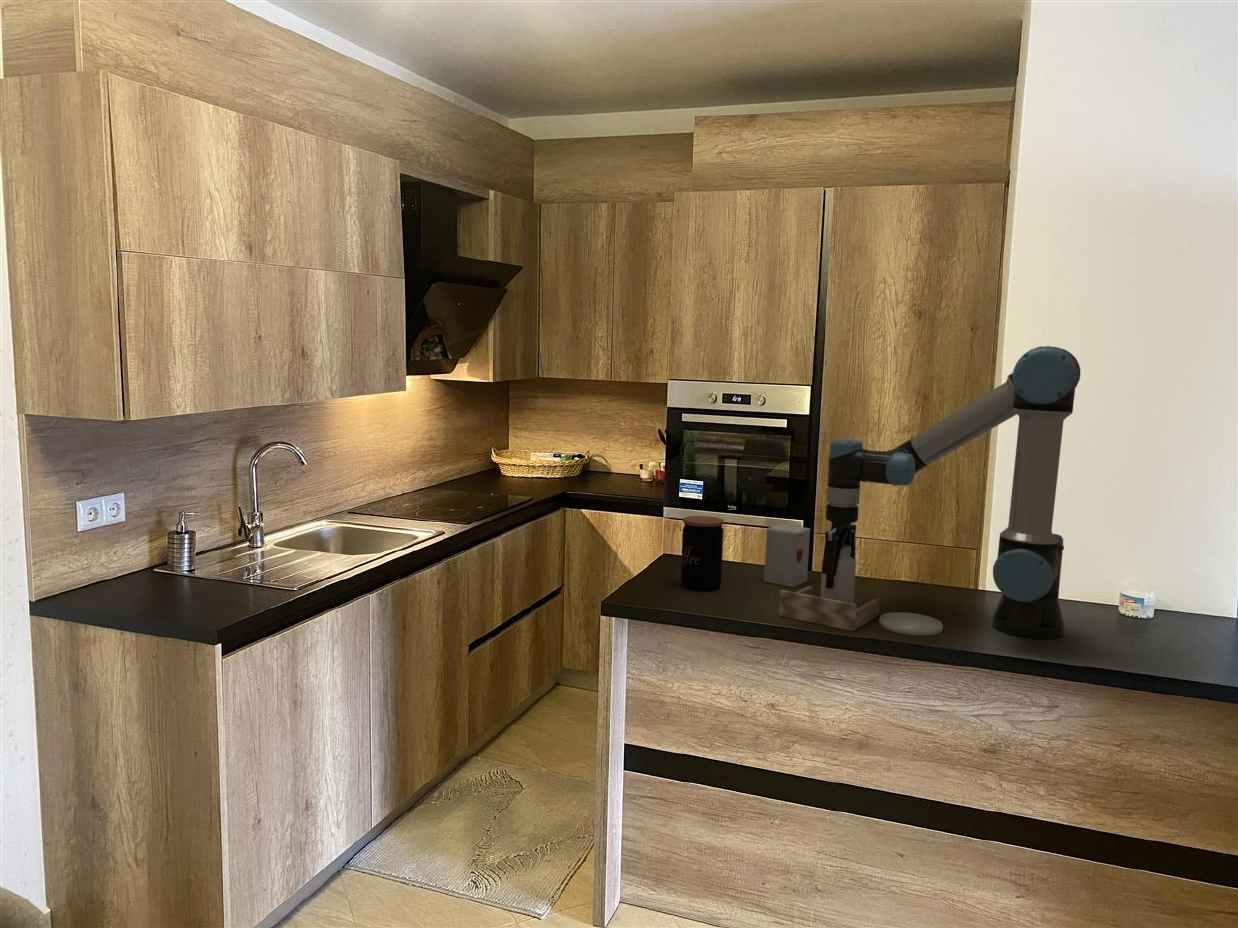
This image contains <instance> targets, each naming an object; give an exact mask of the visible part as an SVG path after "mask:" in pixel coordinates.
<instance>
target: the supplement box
mask: <svg viewBox="0 0 1238 928" xmlns="http://www.w3.org/2000/svg"><path fill="white" fill-rule="evenodd" d="M810 536H811V528H808V527H804V526H795V525H789V524H784V523H783V524H778V525H773V526H771V527H768V528H766V537H765V538H766V539H765V540H766V543H765V557H764V558H765V559H764V570H763V571H764V572H763V573H764V575H763V582H765V583H769V584H774V585H779V586H784V587H789V588H794V587H797V586H800V585H802V584H804V583H807V582H808V568H809V554H810V539H811V538H810Z"/></svg>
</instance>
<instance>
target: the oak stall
mask: <svg viewBox="0 0 1238 928" xmlns="http://www.w3.org/2000/svg"><path fill="white" fill-rule="evenodd" d="M880 602H881V600H880V598H873V599H871V600H870V601H868V602H866V603H865V604H863V605H861V606H859V607H858V604H857V603H854V604H853V603H848V602H843V601H837V600H832V599H827V598H822V597H821V596H816V595H813V586H810V585H808V586H805V587H803V588H801V589H799V590H797V591H790V590H785V589H781V590H779V607H778V612H779V613H778V616H780V617H783V618H784V617H785V618H789V619H794V620H799V621H802V622H803V621H804V622H808V623H812V624H817V625H822V626H827V627H831V628H837V629H840V630H841V629H842V630H846V631H850V632H851V631H852V632H855V631H856V630H858V629H860V628H861V627H862V626H864V625H866V624H868V623H869V622H870V621H872V620H874V619H875V618H877V617H880V616H879V615H880Z"/></svg>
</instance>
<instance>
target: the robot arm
mask: <svg viewBox="0 0 1238 928" xmlns="http://www.w3.org/2000/svg"><path fill="white" fill-rule="evenodd" d="M1080 379H1081V366H1080V363H1079V362H1078V360H1077V357H1075V355H1073V354H1072V352H1070V351H1068V350H1066V349H1064V348H1061V347H1058V346H1050V345H1045V346H1036V347H1033V348H1031V349H1029V350H1028V351H1027V352H1025V353H1024V354H1023V355H1021V357H1020V358H1019V359H1018V360H1017V362H1016V363H1015V365H1014V368H1013V370H1012V372H1011V373H1009V375H1007V379H1006V381H1005V382H1004V383H1002V384H1001V385H999V386H997V387H995V388H994V389H991V390H990V391H989V392H987V393H986V394H984V395H981V396H980V397H979V398H977V399H976V400H974V401H972V402H970V403H968V404H967V405H965V406H964V407H962V408H960V409H959V410H957V411H955V412H953V413H952V414H950V415H948V416H947V417H945V418H943V419H942V420H940V421H939V422H937V423H936V424H934V425H932V426H930V427H928V428H927V429H925V430H924V431H922V432H921V433H918V434H917V435H915V436H914V437H911V439H908V440H906V441H905V442H903V443H901V444H899V445H898V446H897V447H894V448H893V449H890V450H886V451H885V450H883V451H881V450H868V449H864V447H863V442H862V441H860V440H857V439H848V438H847V439H846V438H845V439H834V440H832V441H831V442H830V444H829V446H830V447H829V454H828V458H827V460H828V465H827V467H828V468H827V469H828V470H827V471H828V472H827V488H826V489H825V492H826V502H827V504H826V506H825V519H826V520H827V521H829V522H831V526H830V527H831V528H830V530H829V531H827V530H826V531H825V532H824V536H825V537H824V539H825V540H824V541H825V542H824V548H823V549H824V550H823V558H822V560H823V564H822V563H821V575H822V574H826V577H825V594H824V598H827V599H832V600H836V596H837V579H838V575H836V571H837V567H838V562H839V557H840V553H841V549H842V548H843V547H844V545H849V546H851V555H849V556H850V557H852V558H853V559H854V560H855V561H856V532H857V525H856V524H854V523H857V522H858V521H859V510H860V509H859V506H858V505H859V504H860V496H861V493H860V492H861V482H863V483H875V484H883V485H884V484H885V485H890V486H891V485H892V486H895V487H897V486H909V485H911V484H912V483H913V480H914V479H915V478H914V477H915V474H916V473H918V472H919V471H920V470H922V469H924V468H926V467H927V466H929V465H931V464H932V463H934V462H936V461H938V460H939V459H941V458H944V457H945V456H947V455H949V454H950V453H952V452H954V451H956V450H957V449H959V448H960V447H963V446H964V445H966V444H967V443H970V442H971V441H973V440H974V439H976V438H978V437H980V436H982V435H983V434H985V433H987V432H988V431H991V430H992V429H995V427H998V426H999V425H1001V424H1002V423H1004V422H1007V420H1009V419H1012V418H1013V417H1015V416H1018V419H1019V420H1018V430H1017V439H1016V448H1015V457H1014V466H1013V477H1012V486H1011V496H1010V506H1009V516H1008V526H1007V528H1005V529H1004V530H1003V531H1001V532H1000V533H999V540H998V546H997V547H998V549H997V558H996V560H995V561H994V564H993V567H992V578H993V582H994V583H995V586H996V587H997V589H998V590H999V591H1000V592H1001V593H1002V595H1001V597H1000V600H999V602H998V604H997V606H996V607H995V610H994V612H993V616H992V626H993V627H994V628H995V629H996V630H999V631H1001V632H1003V633H1007V634H1010V635H1013V636H1018V637H1022V638H1023V637H1024V638H1030V639H1041V640H1043V639H1046V640H1047V639H1058V638H1061V637H1063V636H1064V632H1065V621H1064V619H1063V614H1062V609H1061V606H1060V602H1059V594H1060V584H1061V583H1060V582H1061V571H1062V561H1063V551H1064V550H1065V547H1064V538H1063V536H1062V535H1060V534H1057V533H1053V521H1054V513H1055V512H1054V511H1055V503H1056V495H1057V494H1056V492H1057V485H1058V474H1059V468H1060V467H1059V466H1060V456H1061V449H1062V446H1061V445H1062V437H1063V432H1064V431H1063V429H1064V421H1065V420H1066V419H1067V418H1068V417H1069V416H1071V415H1072V414H1073V412H1074V405H1075V404H1074V401H1075V396H1076V395H1075V394H1076V388H1077V386H1078V385H1079V382H1080Z"/></svg>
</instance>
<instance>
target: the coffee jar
mask: <svg viewBox="0 0 1238 928" xmlns="http://www.w3.org/2000/svg"><path fill="white" fill-rule="evenodd" d="M724 521H725V520H724V519H722V518H720V517H715V516H708V515H690V516H685V517H683V519H682V522H683V524H684V526H683V527H682V536H681V538H682V539H681V560H680V561H681V563H680V583H681V584H682V587H683V588H684V589H686V590H690V591H696V592H711V591H716V590H717V589H719V587H721V584H722V572H723V571H722V570H723V569H722V568H723V550H724V549H723V546H724V544H723V543H724V528H723V525H724Z"/></svg>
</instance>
